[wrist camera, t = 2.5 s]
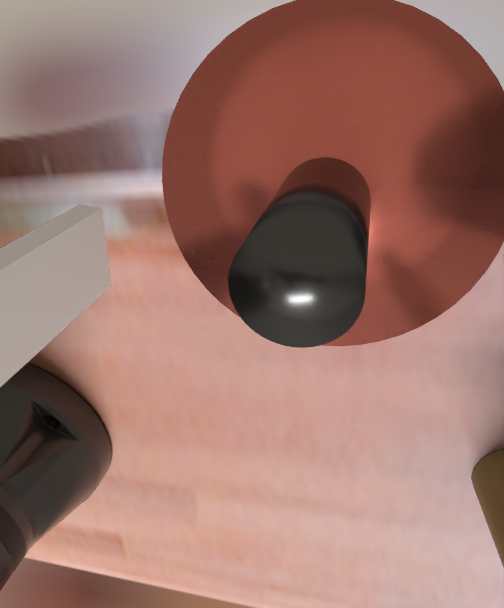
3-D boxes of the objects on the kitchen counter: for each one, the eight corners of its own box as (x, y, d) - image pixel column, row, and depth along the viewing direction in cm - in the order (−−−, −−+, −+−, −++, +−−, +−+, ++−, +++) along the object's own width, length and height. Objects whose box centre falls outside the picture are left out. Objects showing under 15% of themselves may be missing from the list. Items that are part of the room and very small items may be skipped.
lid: (187, 290, 27) (90, 418, 18) (182, -12, 19) (4, -54, 10) (445, 338, 25) (483, 515, 16) (564, 12, 17) (785, -17, 8)
